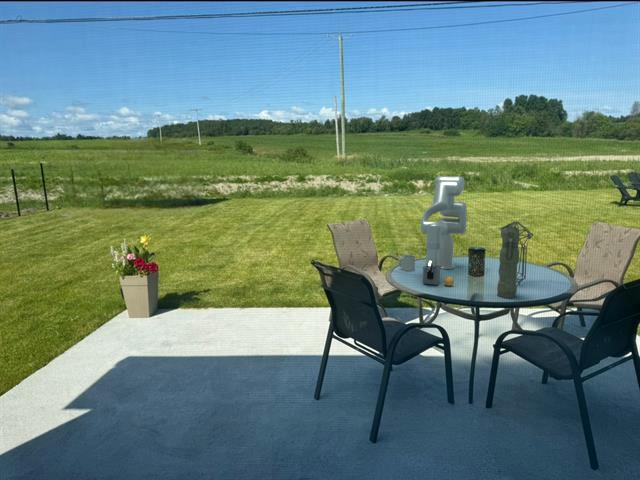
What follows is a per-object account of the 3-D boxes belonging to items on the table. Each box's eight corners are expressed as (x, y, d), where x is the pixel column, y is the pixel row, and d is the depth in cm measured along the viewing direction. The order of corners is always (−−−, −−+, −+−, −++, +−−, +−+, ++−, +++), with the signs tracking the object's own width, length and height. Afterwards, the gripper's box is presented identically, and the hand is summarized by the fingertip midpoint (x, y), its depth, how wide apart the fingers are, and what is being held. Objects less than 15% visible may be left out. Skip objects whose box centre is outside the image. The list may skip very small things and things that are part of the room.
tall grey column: (498, 298, 223) (503, 228, 217) (495, 292, 234) (500, 225, 228) (517, 300, 221) (523, 229, 214) (514, 293, 232) (519, 226, 226)
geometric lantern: (523, 281, 256) (529, 220, 249) (528, 289, 241) (535, 224, 234) (494, 278, 260) (499, 218, 253) (496, 286, 245) (502, 223, 238)
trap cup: (426, 279, 254) (426, 264, 253) (439, 281, 251) (440, 265, 249) (422, 283, 248) (423, 267, 246) (437, 284, 244) (437, 269, 243)
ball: (455, 277, 246) (453, 285, 247) (446, 274, 248) (444, 283, 249) (453, 279, 241) (452, 288, 242) (444, 277, 243) (442, 285, 244)
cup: (413, 271, 277) (414, 257, 275) (397, 270, 279) (398, 256, 278) (415, 269, 283) (415, 255, 282) (399, 268, 286) (399, 254, 285)
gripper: (429, 242, 255) (428, 273, 258) (422, 248, 240) (421, 280, 243) (443, 243, 252) (441, 274, 255) (436, 249, 236) (435, 281, 239)
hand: (431, 277), depth 249 cm, fingers closed on trap cup, 7 cm apart
